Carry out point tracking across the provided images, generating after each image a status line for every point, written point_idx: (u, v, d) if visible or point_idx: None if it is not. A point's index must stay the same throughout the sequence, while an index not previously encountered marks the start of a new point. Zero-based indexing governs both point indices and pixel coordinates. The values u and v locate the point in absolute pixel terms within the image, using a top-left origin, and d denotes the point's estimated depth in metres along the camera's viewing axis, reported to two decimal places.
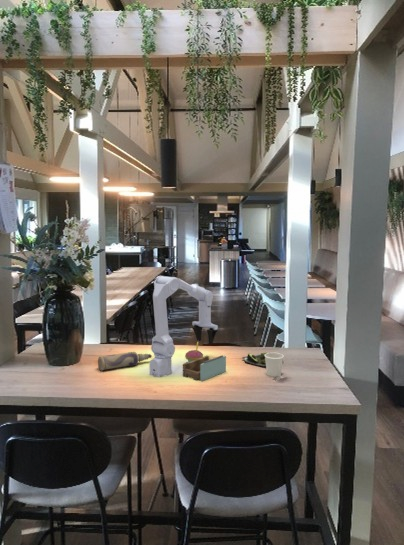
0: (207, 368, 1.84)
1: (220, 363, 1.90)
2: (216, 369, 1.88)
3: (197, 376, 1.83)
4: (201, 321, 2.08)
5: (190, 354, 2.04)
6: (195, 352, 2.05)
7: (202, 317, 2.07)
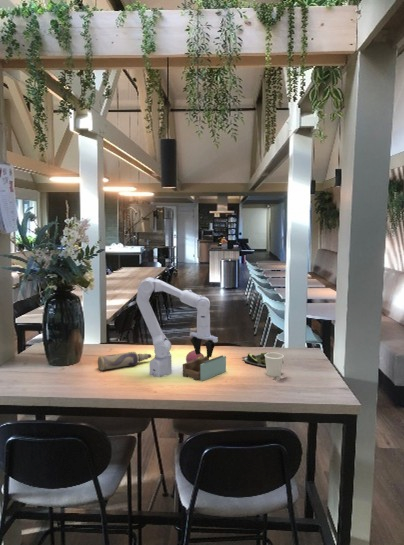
0: (207, 368, 1.84)
1: (220, 363, 1.90)
2: (216, 369, 1.88)
3: (197, 376, 1.83)
4: (199, 332, 1.87)
5: None
6: None
7: (200, 328, 1.87)
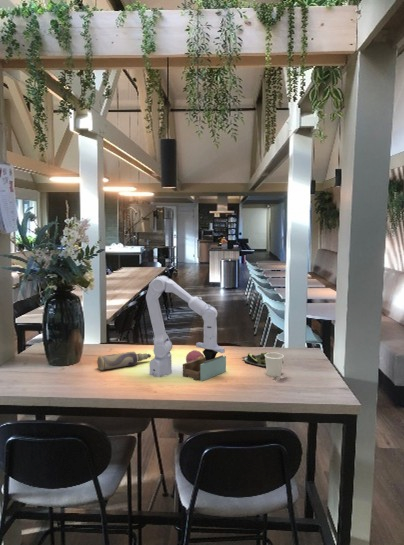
0: (207, 368, 1.84)
1: (220, 363, 1.90)
2: (216, 369, 1.88)
3: (197, 376, 1.83)
4: (206, 343, 1.85)
5: None
6: None
7: (207, 339, 1.85)
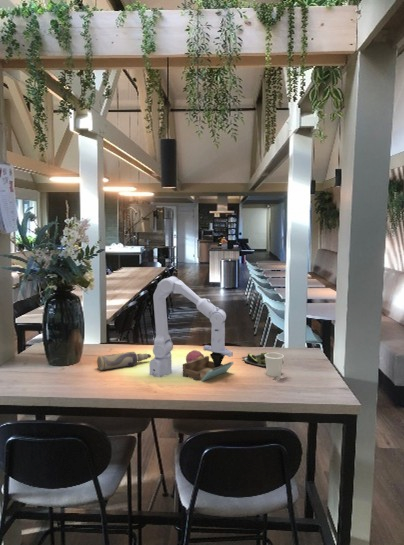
0: (212, 373, 1.82)
1: (225, 368, 1.89)
2: (219, 372, 1.88)
3: (197, 376, 1.83)
4: (214, 346, 1.82)
5: None
6: None
7: (215, 342, 1.82)
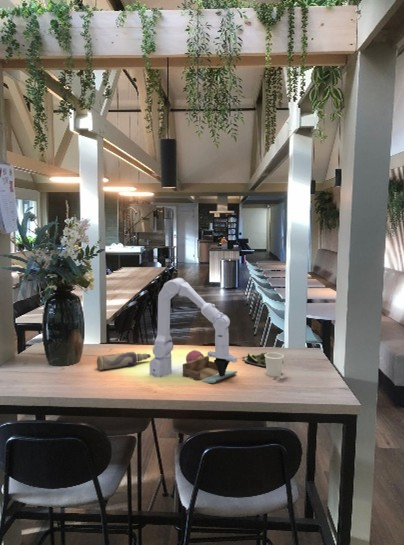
0: None
1: None
2: None
3: (197, 376, 1.83)
4: (218, 352, 1.81)
5: None
6: None
7: (219, 348, 1.81)
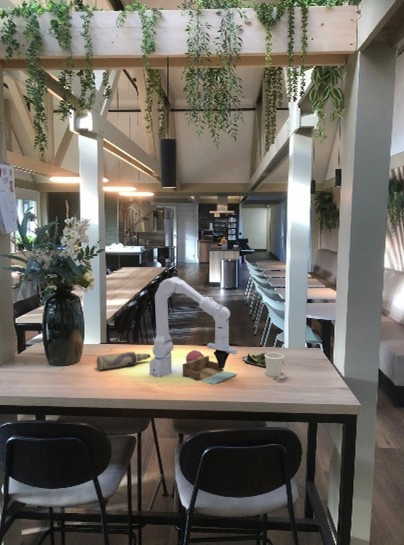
0: None
1: None
2: None
3: (197, 376, 1.83)
4: (218, 344, 1.81)
5: None
6: None
7: (219, 339, 1.80)
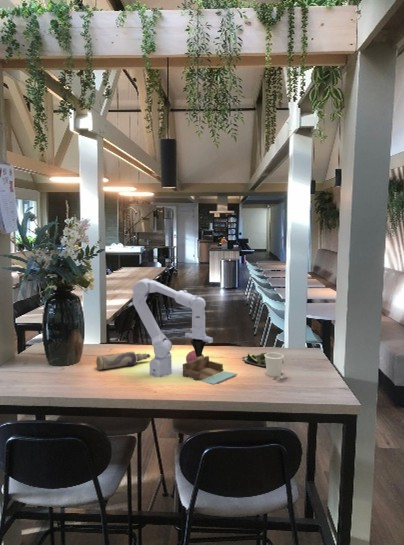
0: None
1: None
2: None
3: (197, 376, 1.83)
4: (194, 333, 1.87)
5: None
6: None
7: (195, 329, 1.86)
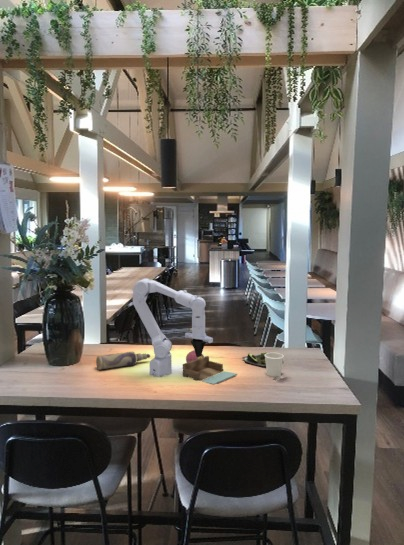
0: None
1: None
2: None
3: (197, 376, 1.83)
4: (194, 333, 1.87)
5: None
6: None
7: (195, 329, 1.86)
